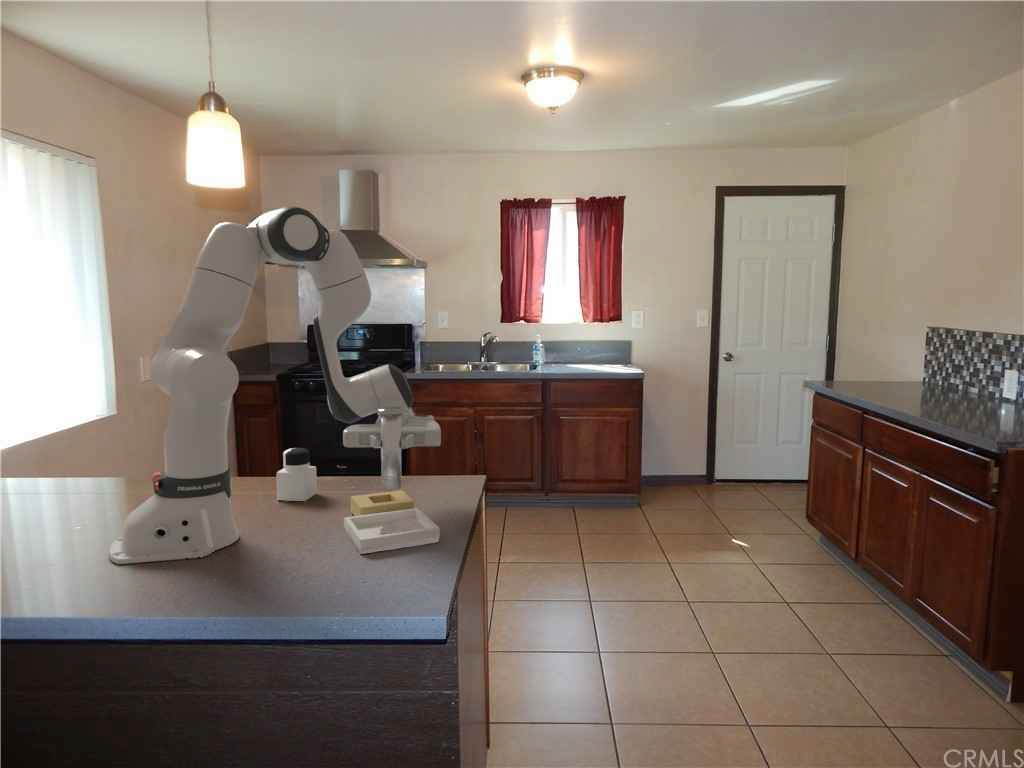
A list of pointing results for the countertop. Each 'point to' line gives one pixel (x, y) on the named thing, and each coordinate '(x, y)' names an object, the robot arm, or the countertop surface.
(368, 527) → the tray
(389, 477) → the steel pin
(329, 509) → the countertop surface
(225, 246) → the robot arm
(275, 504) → the countertop surface
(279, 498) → the medicine bottle
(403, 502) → the block
